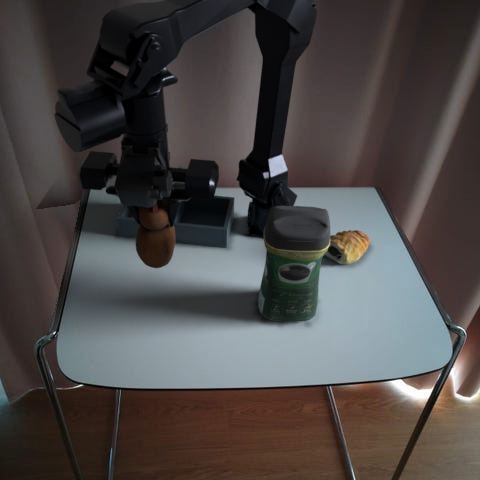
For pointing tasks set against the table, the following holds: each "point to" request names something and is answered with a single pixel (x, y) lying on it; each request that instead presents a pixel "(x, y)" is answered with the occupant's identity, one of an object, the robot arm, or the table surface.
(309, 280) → the coffee jar
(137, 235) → the wooden figurine
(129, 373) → the table surface
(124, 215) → the tray
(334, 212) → the table surface
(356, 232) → the pastry
